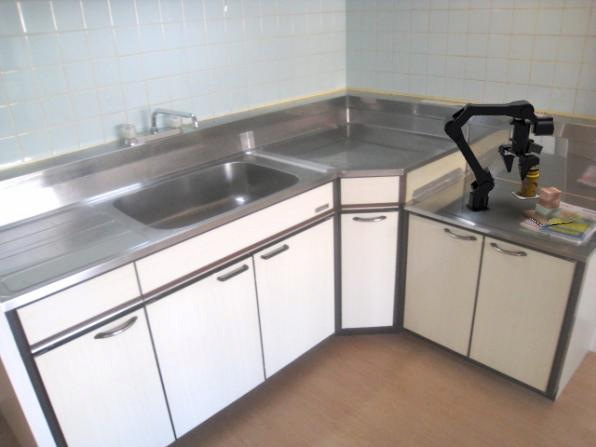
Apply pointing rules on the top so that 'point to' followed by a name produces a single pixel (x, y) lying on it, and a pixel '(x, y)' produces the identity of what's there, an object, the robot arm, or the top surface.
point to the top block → (549, 197)
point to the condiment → (529, 184)
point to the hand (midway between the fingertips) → (515, 176)
